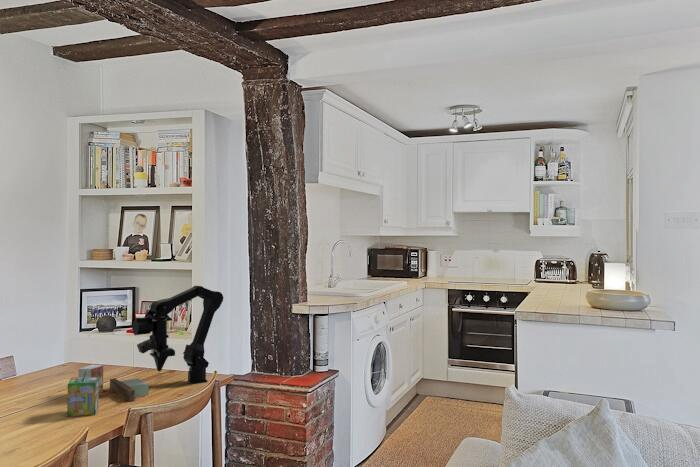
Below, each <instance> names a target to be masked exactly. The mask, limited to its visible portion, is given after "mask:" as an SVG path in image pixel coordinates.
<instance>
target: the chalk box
mask: <svg viewBox="0 0 700 467" xmlns="http://www.w3.org/2000/svg"><path fill="white" fill-rule="evenodd" d="M87 370H88V369H87ZM87 370H86V371H85V374H84V377H79V376H78V377H77V376H76V377H71V379H70V380H69V382H68V383H67V405H66V406H67V410H66V411H67V413H66V416H67V418H71V417H82V416H84V417H85V416H86V417H87V416H95V415H96V414H97V413H98V410H99V394H100V393H99V376H98V377H86V374H87Z"/></svg>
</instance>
